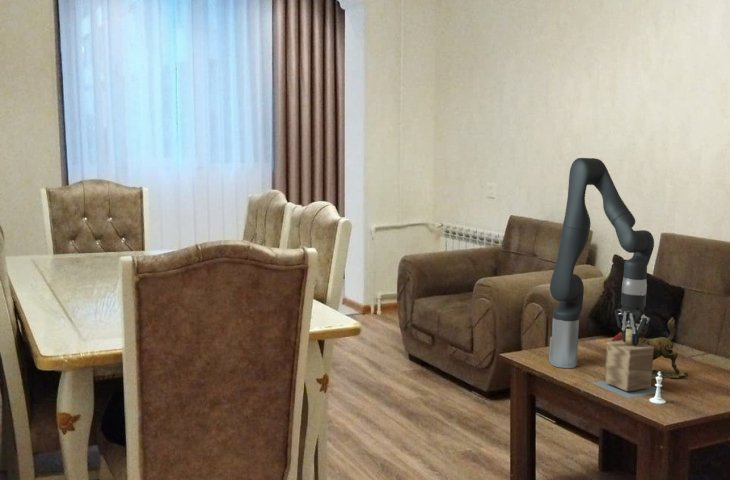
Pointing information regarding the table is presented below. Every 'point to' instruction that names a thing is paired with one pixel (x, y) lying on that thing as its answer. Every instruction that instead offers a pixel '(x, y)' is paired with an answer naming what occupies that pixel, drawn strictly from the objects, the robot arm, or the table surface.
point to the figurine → (664, 352)
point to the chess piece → (658, 392)
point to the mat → (627, 393)
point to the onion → (618, 337)
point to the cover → (629, 364)
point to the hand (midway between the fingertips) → (630, 343)
